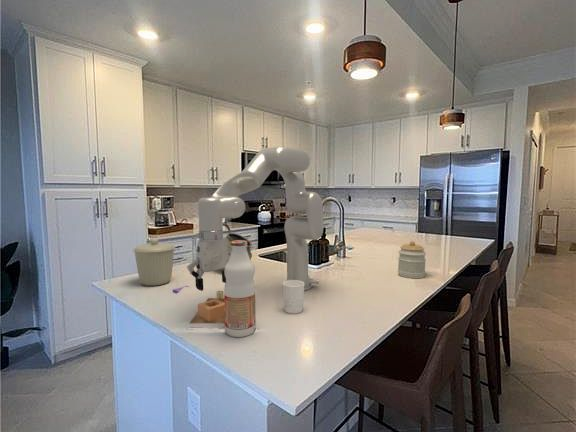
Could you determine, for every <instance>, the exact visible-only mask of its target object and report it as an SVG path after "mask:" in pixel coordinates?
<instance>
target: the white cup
mask: <svg viewBox="0 0 576 432" xmlns="http://www.w3.org/2000/svg"><path fill="white" fill-rule="evenodd" d="M304 299H305V291H304V282H302V281H298V280H288V281H287V280H284V281H283V282H282V300H283V311H284V312H285V313H288V314H300V313H302V312H303V309H304Z"/></svg>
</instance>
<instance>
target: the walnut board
mask: <svg viewBox="0 0 576 432" xmlns="http://www.w3.org/2000/svg"><path fill="white" fill-rule="evenodd" d="M214 299H217V297H216V298H215V297H211V298H210V297H208V298H207V299H206V300H205V302H207V301H210V300H214ZM223 302H224V297H223ZM224 303H225V302H224ZM189 324H225V317H222V318H219V319H216V320H213V321H210V322H209V321H207V320H205V319H203V318H202V317H200V316H198V311H197V312H196V313H195V315H194V316H193V317H192V319H191V320H190V321H189ZM192 328H195V329H198V328H199V329H203V327H194V326H193V327H189V329H192Z"/></svg>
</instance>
